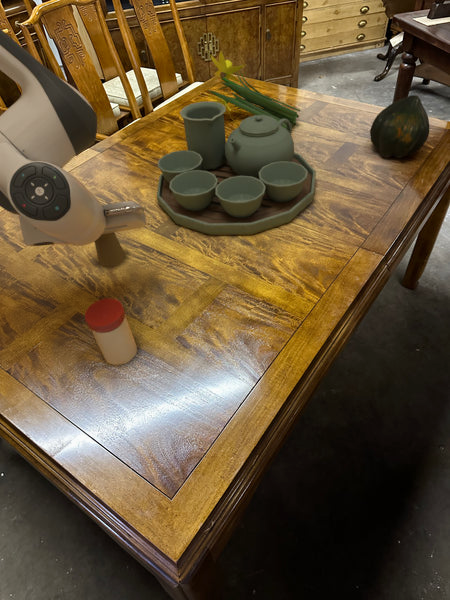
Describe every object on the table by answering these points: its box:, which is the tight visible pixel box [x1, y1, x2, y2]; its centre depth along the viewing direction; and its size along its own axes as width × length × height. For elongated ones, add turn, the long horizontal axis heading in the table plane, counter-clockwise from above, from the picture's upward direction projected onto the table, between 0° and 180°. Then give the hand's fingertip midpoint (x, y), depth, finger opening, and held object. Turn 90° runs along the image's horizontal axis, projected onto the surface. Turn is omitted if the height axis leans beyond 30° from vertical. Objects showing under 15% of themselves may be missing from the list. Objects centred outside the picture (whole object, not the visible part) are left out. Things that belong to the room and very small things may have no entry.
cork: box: [94, 232, 127, 269], centre depth 87 cm, size 6×6×11 cm
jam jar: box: [90, 315, 138, 366], centre depth 70 cm, size 6×6×10 cm
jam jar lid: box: [84, 297, 127, 333], centre depth 66 cm, size 6×6×2 cm
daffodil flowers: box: [205, 50, 301, 130], centre depth 132 cm, size 17×15×35 cm
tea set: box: [156, 100, 317, 236], centre depth 101 cm, size 40×40×16 cm
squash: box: [369, 94, 430, 159], centre depth 111 cm, size 14×15×15 cm
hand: (96, 231), depth 80 cm, fingers open, 8 cm apart
